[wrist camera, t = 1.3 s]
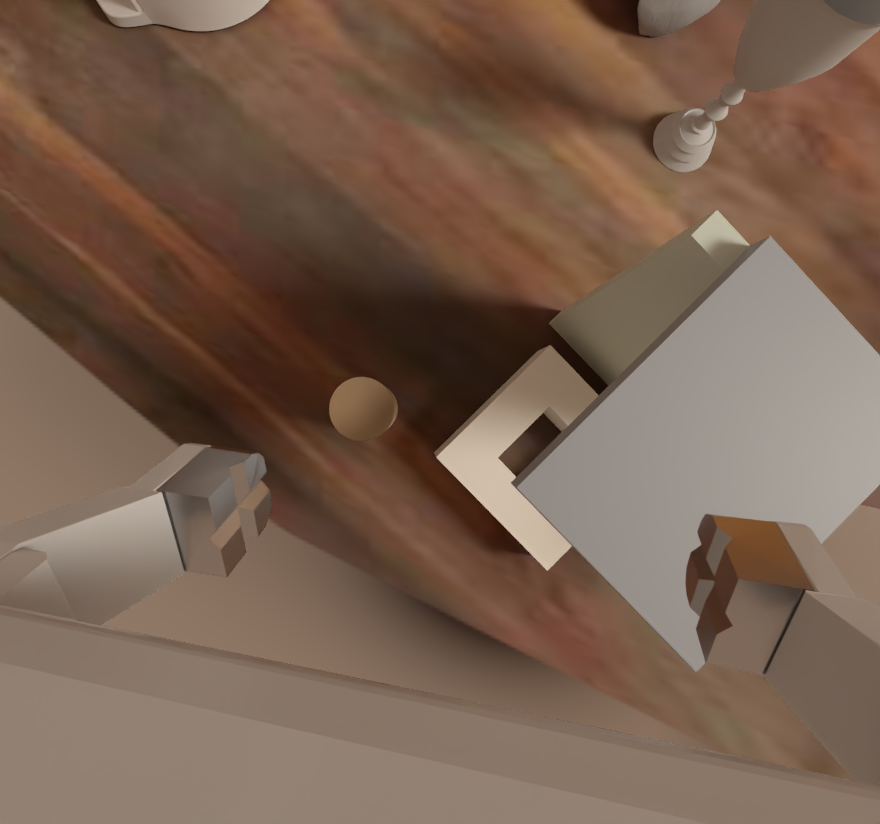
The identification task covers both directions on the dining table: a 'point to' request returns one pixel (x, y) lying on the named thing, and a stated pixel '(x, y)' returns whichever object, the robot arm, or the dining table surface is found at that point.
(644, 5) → the grey conch shell
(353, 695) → the robot arm
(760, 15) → the chalice
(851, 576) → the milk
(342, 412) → the peg
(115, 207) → the dining table surface
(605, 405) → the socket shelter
